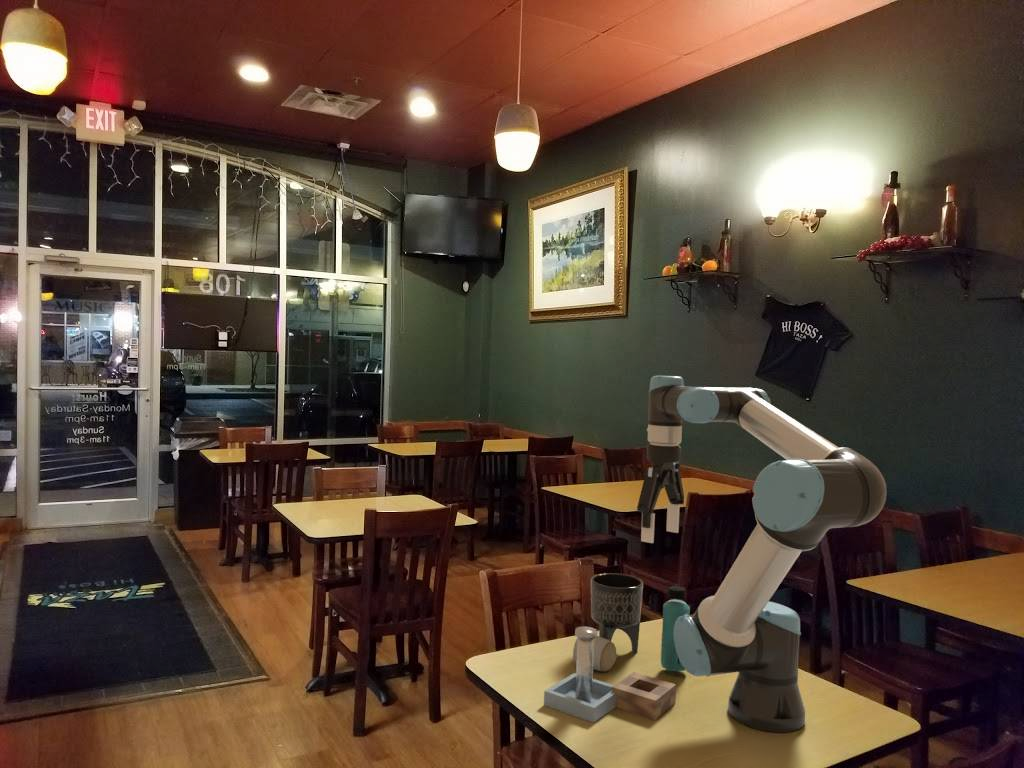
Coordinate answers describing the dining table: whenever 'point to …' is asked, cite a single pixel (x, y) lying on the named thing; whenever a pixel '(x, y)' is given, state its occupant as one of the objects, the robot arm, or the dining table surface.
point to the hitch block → (644, 695)
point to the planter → (617, 605)
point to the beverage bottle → (672, 627)
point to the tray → (565, 700)
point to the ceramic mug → (601, 654)
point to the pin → (585, 663)
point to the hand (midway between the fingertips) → (660, 536)
